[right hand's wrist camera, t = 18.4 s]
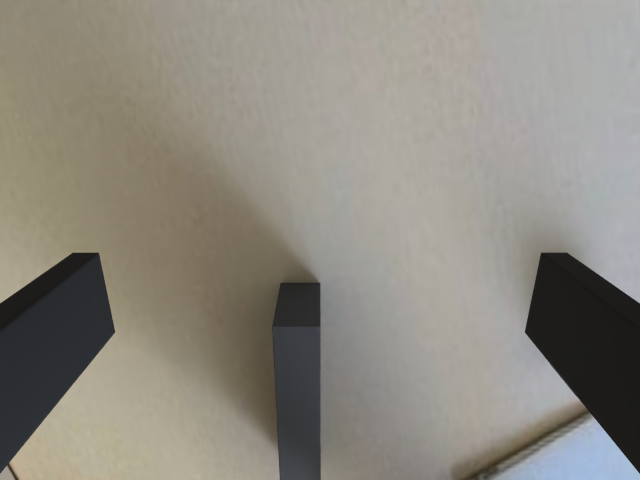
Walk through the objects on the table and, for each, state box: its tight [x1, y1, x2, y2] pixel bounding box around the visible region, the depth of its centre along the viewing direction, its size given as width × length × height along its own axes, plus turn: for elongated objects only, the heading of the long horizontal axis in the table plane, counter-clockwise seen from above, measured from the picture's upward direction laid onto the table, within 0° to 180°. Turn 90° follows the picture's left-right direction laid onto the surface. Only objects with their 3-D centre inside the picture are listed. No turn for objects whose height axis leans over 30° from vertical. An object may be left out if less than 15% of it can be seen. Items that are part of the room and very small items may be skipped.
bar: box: [272, 283, 321, 480], centre depth 43 cm, size 24×4×8 cm, turn 0°
